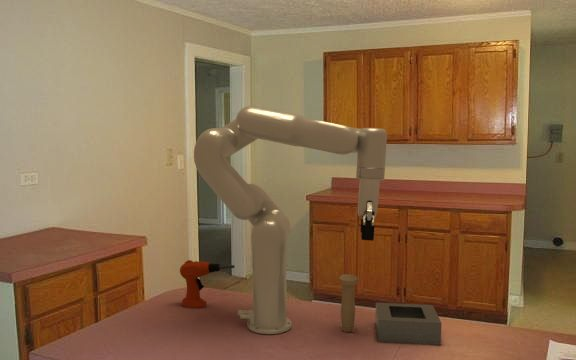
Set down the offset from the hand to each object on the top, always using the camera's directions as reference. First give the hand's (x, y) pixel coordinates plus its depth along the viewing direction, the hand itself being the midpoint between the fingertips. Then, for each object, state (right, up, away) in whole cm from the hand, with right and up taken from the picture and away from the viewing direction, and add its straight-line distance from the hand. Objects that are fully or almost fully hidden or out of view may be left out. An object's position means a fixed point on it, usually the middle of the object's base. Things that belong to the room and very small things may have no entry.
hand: (366, 236), depth 138 cm
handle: (-5, -27, +3) cm, 27 cm away
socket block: (+11, -27, +1) cm, 29 cm away
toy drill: (-47, -25, +22) cm, 57 cm away
